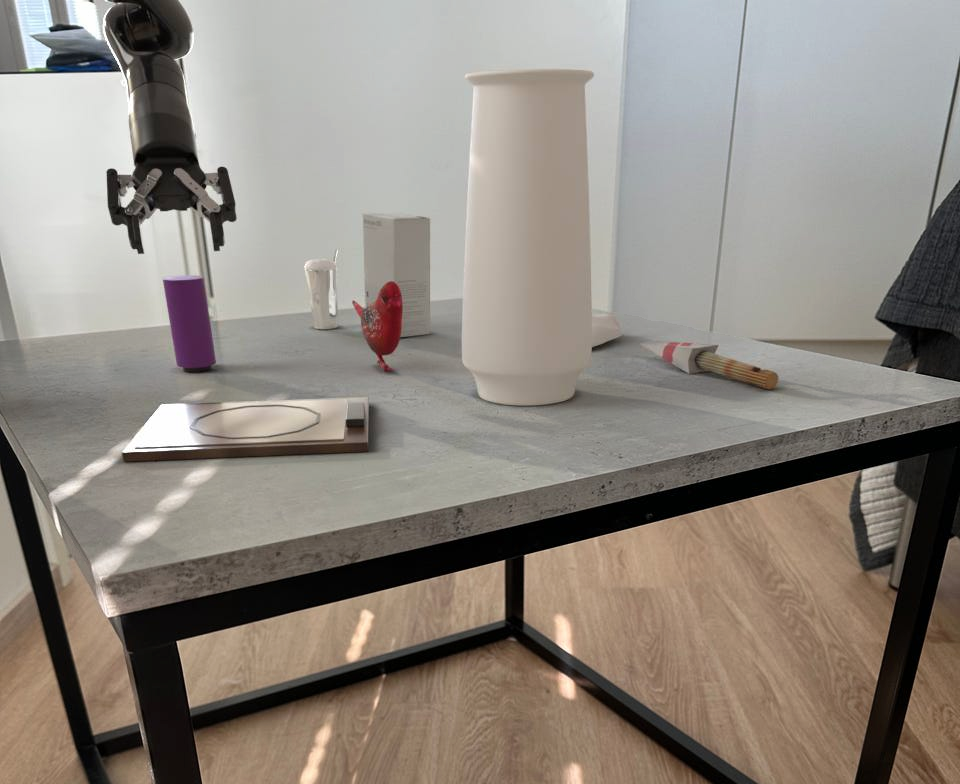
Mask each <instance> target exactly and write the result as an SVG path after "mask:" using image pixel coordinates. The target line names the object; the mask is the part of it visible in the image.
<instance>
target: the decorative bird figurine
mask: <svg viewBox="0 0 960 784" xmlns="http://www.w3.org/2000/svg"><path fill="white" fill-rule="evenodd" d="M351 303H352V306H353V307H354V309H355V311H356V313H357V314H358V316H359V319H360V327H361V330H362V333H363V337H364V338H365V340H366V343H367V345H368V347H369V348H370V350H371V351H372V352H373V353H374V354H375V355H376V357H377V358H378V360H377V362H376V365H378V367H380V368H381V369H382V370H383V371H384V372H388V371H390V372H393V370H392V368H390V366H389V365H388V364H386V361H385V360H384V358H383V356H388V355H392V354H393V353H394V352H395V350H396V349H397V347H398V345H399V343H400V340H401V337H400V336H401V329H402V312H403V305H402V295H401V291H400V289H399V287H398V285H397V284H396V283H395V282H393V281H390V282H387V283H386V284H385V285H384V286H383V287H382V288H381V289H380V292H379V294H378V297H377V300H376V301H375V302H373V303H370V304H369V305H368V306H366V307H365V306H364V307H362V306H361V304H359V303H358V302H357V301H355V300H352V301H351Z"/></svg>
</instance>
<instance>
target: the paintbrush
mask: <svg viewBox="0 0 960 784" xmlns="http://www.w3.org/2000/svg"><path fill="white" fill-rule="evenodd" d="M639 345H641V346H642V347H644V348H646V349H647V350H649V351H650V352H652V353H654V355H657V356H658V357H660V358H662V359H664V360H665V361H667V362H668V363H670V364H672V365H674V366H675V367H677V368H679V370H682V371H683V372H685V373H686V374H688V375H693V374H697V373H704V372H712V373H716V374H720V375H721V376H725V377H729V378H732V379H735V380H738V381H740V382H741V381H742V382H745V383H747V384H754V385H755V386H756V387H757V386H758V387H759V388H762V389H765V390H772V389H774V388H775V387H776V386H777V384H778V381H779V375H778V373H777V372H775V371H772V370H770V369H762V368H761V367H759V366H756V365H752V364H749V363H745V362H742V361H739V360H736V359H733V358H729V357H726V356H723V355H720V354H718V353H717V354H716V351H717V350H718V348H719V344H710V343H695V342H679V341H678V342H677V341H665V340H663V341H662V340H661V341H660V340H655V341H648V342H640V343H639Z"/></svg>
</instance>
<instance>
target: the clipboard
mask: <svg viewBox="0 0 960 784" xmlns="http://www.w3.org/2000/svg"><path fill="white" fill-rule="evenodd" d="M369 425H370V398H369V396H357V397H329V398H303V399H275V400H273V399H272V400H251V401H249V400H246V401H245V400H244V401H221V402H197V403H196V402H195V403H169V404H168V403H166V404H160V405H159V407H158V408H157V409H156V411H154V413H153V414H152V416H150V418H149V419H148V420H147V422H145V424H144V425H143V426H142V427H141V429H140V430H139V431H138V432H137V434H136V435H135V436H134V437H133V439H132V440H131V441H130V442H129V443H128V445H126V447H125V448H124V449H123V451H121V456H122V460H123V462H124V463H125V462H126V463H127V462H150V461H152V462H153V461H154V462H155V461H173V460H174V461H175V460H176V461H177V460H199V459H200V460H201V459H223V458H224V459H225V458H246V457H249V458H250V457H270V456H292V455H294V456H295V455H296V456H297V455H313V454H314V455H316V454H339V453H340V454H341V453H364V452H365V453H366V452H367V453H368V452H369V427H370V426H369Z"/></svg>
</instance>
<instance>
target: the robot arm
mask: <svg viewBox="0 0 960 784" xmlns="http://www.w3.org/2000/svg"><path fill="white" fill-rule="evenodd" d="M104 1H105V2H108V3H115V5H112V6H111V7H110V8H109V9H108V10H107V11H106V12H105V15H104V17H103V24H102V29H103V34H104V37H105V40H106V41H107V45H108V46H109V49H110V50H111V53H112V54H113V56H114V58H115V60H116V61H117V64H118V65H119V68H120V70H121V72H122V75H123V79H124V82H125V86H126V95H127V102H128V111H127V112H128V114H127V117H128V118H127V119H128V129H129V138H130V144H131V151H132V159H133V168H134V169H133V171H132V172H131V174H119V173H118V170H116V169H115V168H113V167H111V168H108V169H107V170H106V193H107V194H106V196H107V198H106V199H107V209H108V213H109V216H110V221H111V224H112V225H114V226H121V225H123V226H126V229H127V236H128V237H127V238H128V241H129V246H130V248H131V249H132V250H136V252H137V254H138V255H144V254H145V248H144V240H143V232H142V227H141V226H142V225H143V223H144V222H145V220H149V219H150V218H151V217H152V216H153V215H154V214H155V212H156V211H157V210H159V212H171V211H179V212H187V211H188V209H191V210H192V211H193V212H194V213H195V214H196V215H198V217H200V218H204V219H205V220H206V221H207V222H208V223H209V226H210V227H209V229H210V234H211V240H212V247H213V252H220V251H221V248H220V247H224V246H225V243H226V240H225V239H226V238H225V231H224V226H223V225H224V223H225V222H229V223H234V222H236V221H237V219H238V217H237V211H236V206H237V205H236V204H237V203H236V200H235V197H234V190H233V188H232V187H233V186H232V183H231V179H230V175H229V170H228V168H227V167H225V166H219V167H217V168H216V169H217V170H216V171H217V172H207V173H205V171H204V170H203V169H202V168H201V163H200V158H199V157H200V156H199V151H198V143H197V134H196V131H195V125H194V120H193V115H192V113H191V110H190V105H189V98H188V93H187V86H186V79H185V75H184V73H183V70H182V68H181V66H180V65H179V63H178V62H177V61H176V60H180V59H182V58H184V57H186V56H188V55H189V54H190V53H191V51H192V49H193V46H194V39H195V37H194V35H195V34H194V28H193V24H192V21H191V19H190V16H189V14H188V13H187V11H186V9H185V8H184V6H183V4H182V3H181V2H180V0H104ZM207 186H210V187H211V188H212V190H213V191H214V192H216V194H217V195H220V197H221V201H222V202H221V203H222V204H218V203H217V202H216V201H215V200H214V199H213V198H211V196H210V195H209V193H208V192H207V190H206V189H207ZM130 188H132V189H134V193H133V198H132V199H131V200H130V201H129V203H128V204H127V206H125V207H124V206H123V202H122V201H123V199H122V198H124V197H126V194H127V193H128V192H129V191H128V190H129V189H130Z"/></svg>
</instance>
